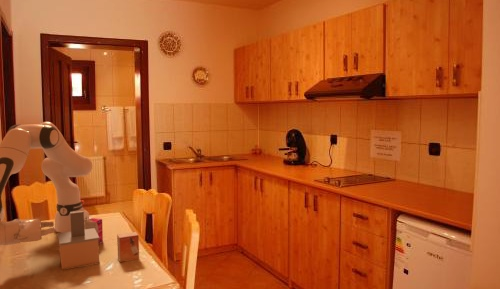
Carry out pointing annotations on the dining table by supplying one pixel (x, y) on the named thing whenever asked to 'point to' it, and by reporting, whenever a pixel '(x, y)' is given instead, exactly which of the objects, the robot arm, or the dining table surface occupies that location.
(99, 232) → the supplement box
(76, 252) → the large tan box
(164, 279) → the dining table surface
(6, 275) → the dining table surface
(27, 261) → the dining table surface
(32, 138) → the robot arm
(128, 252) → the small box
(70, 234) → the grey plate with knob
